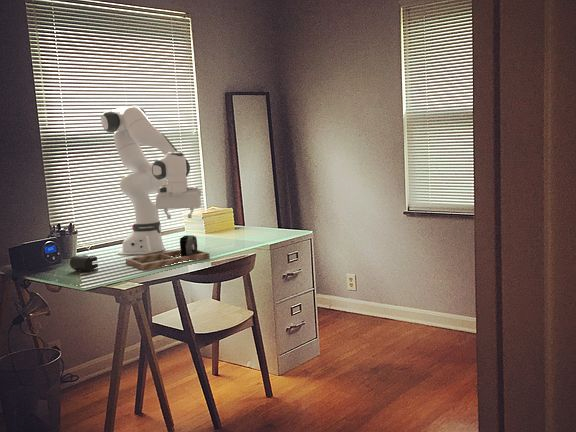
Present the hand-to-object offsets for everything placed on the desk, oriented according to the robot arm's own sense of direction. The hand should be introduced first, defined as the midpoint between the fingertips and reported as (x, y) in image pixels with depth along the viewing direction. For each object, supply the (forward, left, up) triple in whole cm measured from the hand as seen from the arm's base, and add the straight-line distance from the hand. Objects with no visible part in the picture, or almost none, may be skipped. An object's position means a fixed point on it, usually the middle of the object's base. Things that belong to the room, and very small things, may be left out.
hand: (179, 218), depth 280 cm
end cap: (-40, -16, -19) cm, 47 cm away
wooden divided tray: (-6, -5, -19) cm, 20 cm away
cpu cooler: (+3, 0, -19) cm, 19 cm away
